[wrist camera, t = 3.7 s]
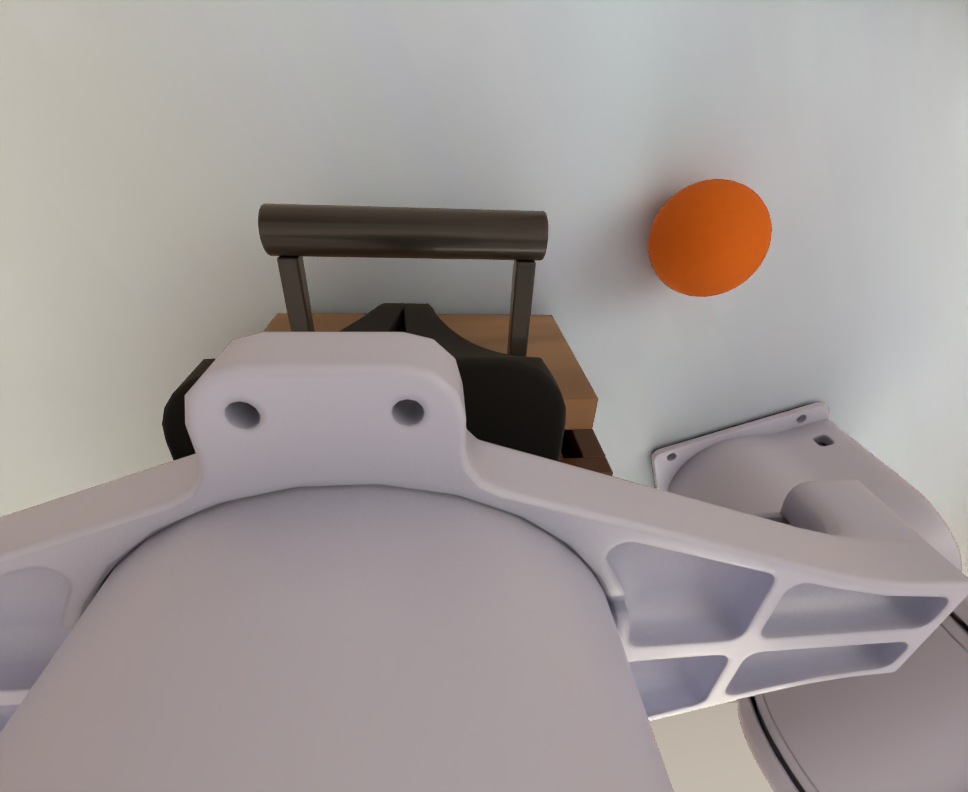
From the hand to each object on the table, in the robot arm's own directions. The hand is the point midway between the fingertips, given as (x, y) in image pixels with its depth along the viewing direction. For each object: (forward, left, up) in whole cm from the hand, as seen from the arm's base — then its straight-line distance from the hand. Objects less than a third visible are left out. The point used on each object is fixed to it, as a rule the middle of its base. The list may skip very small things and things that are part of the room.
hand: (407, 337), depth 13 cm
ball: (-11, +2, -5) cm, 12 cm away
